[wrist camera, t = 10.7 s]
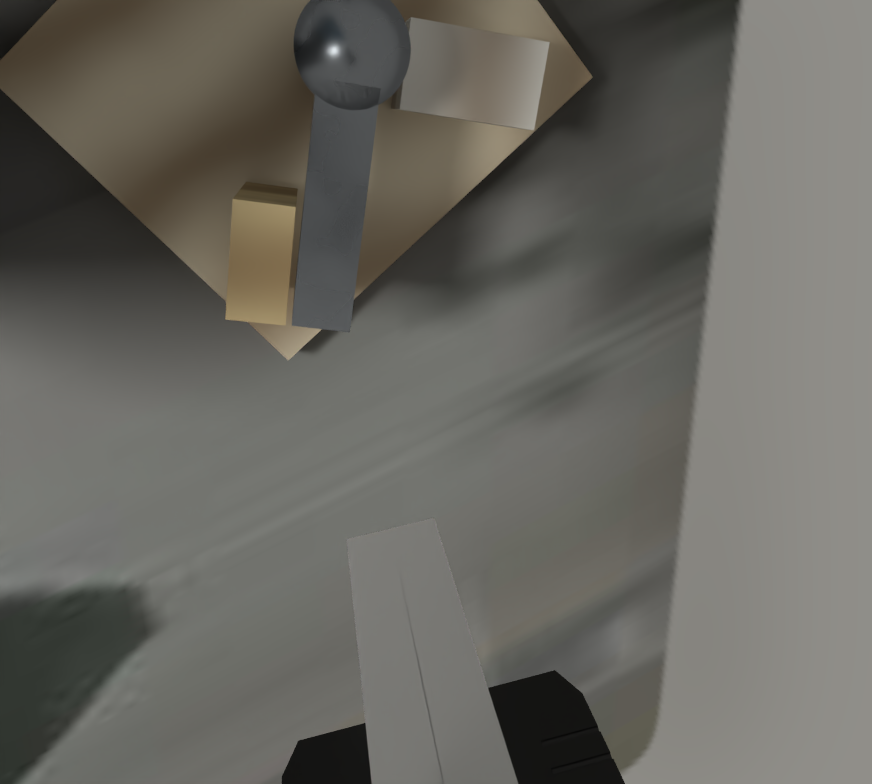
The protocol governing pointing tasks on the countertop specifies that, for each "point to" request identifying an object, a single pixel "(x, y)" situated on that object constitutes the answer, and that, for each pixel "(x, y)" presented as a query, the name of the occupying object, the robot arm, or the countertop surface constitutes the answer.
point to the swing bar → (341, 143)
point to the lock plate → (279, 125)
